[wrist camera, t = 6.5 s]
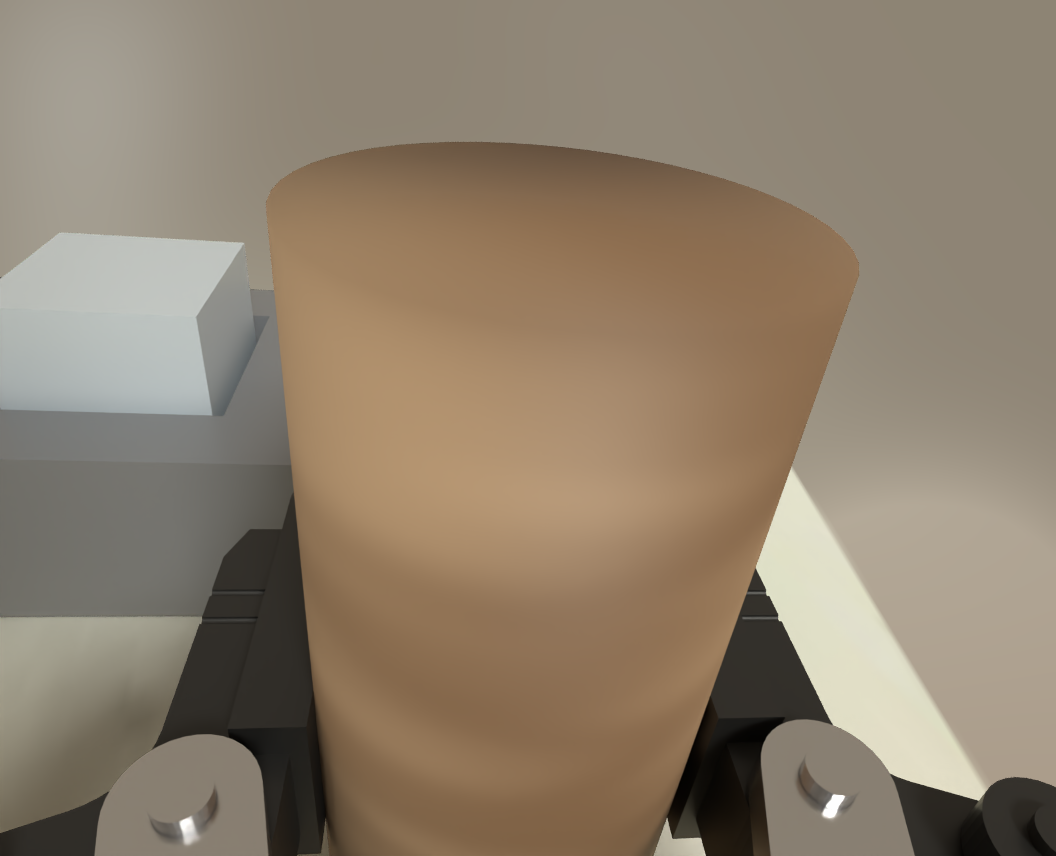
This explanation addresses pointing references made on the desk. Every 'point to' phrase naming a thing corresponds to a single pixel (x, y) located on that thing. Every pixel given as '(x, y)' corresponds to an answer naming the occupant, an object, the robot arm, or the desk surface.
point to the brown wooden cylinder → (532, 475)
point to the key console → (141, 496)
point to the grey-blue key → (126, 326)
